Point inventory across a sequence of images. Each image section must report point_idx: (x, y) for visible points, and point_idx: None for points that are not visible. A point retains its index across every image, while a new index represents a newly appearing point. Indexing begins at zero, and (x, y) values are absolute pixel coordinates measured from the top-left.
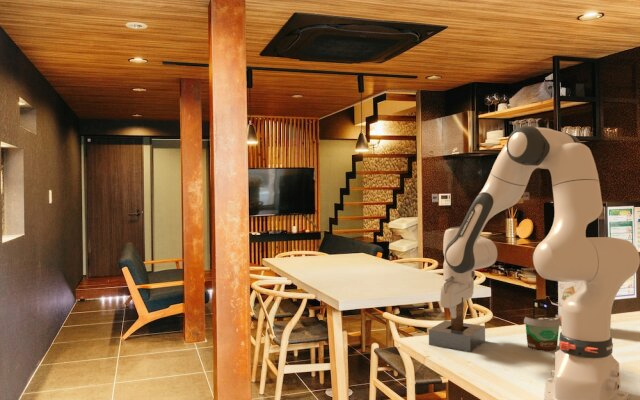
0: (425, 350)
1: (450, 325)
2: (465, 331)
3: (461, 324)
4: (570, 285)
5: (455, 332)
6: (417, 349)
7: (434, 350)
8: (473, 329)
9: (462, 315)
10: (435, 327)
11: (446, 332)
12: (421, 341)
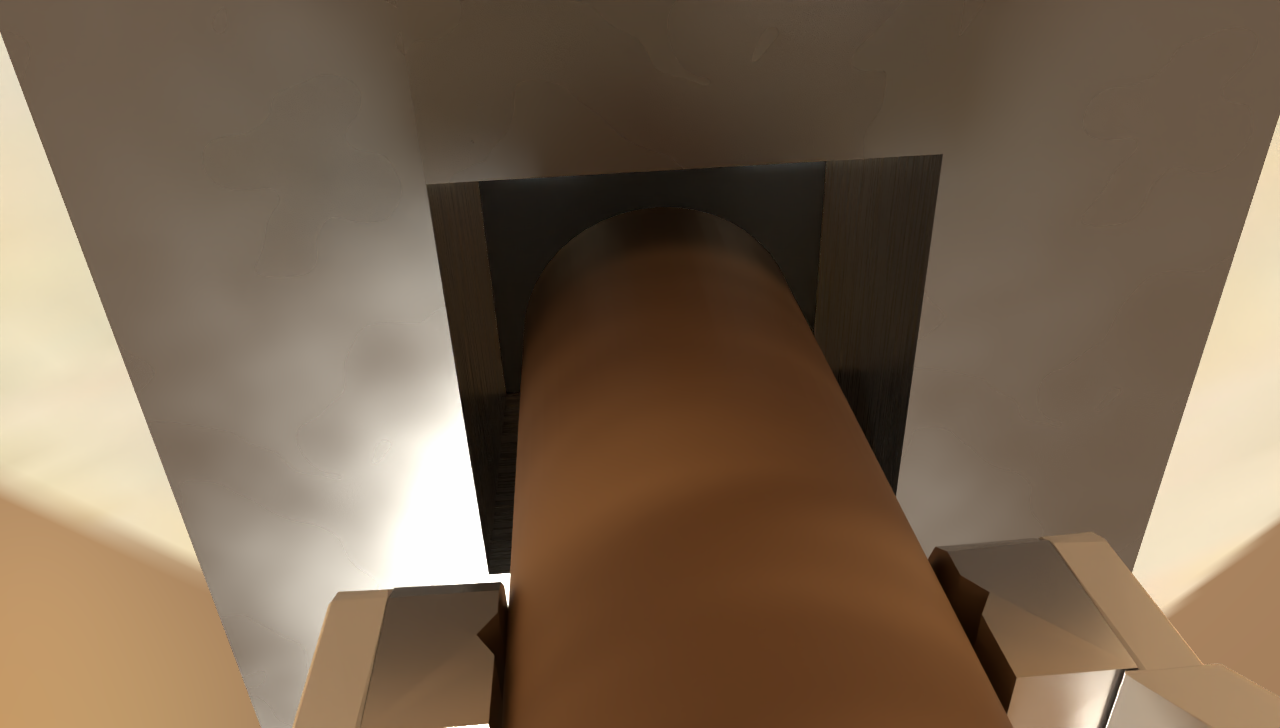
0: (1263, 435)
1: None
2: (916, 84)
3: (759, 325)
4: None
5: (1118, 253)
6: (1248, 524)
7: (1226, 344)
8: None
9: (768, 480)
10: None
11: (1182, 405)
12: None
